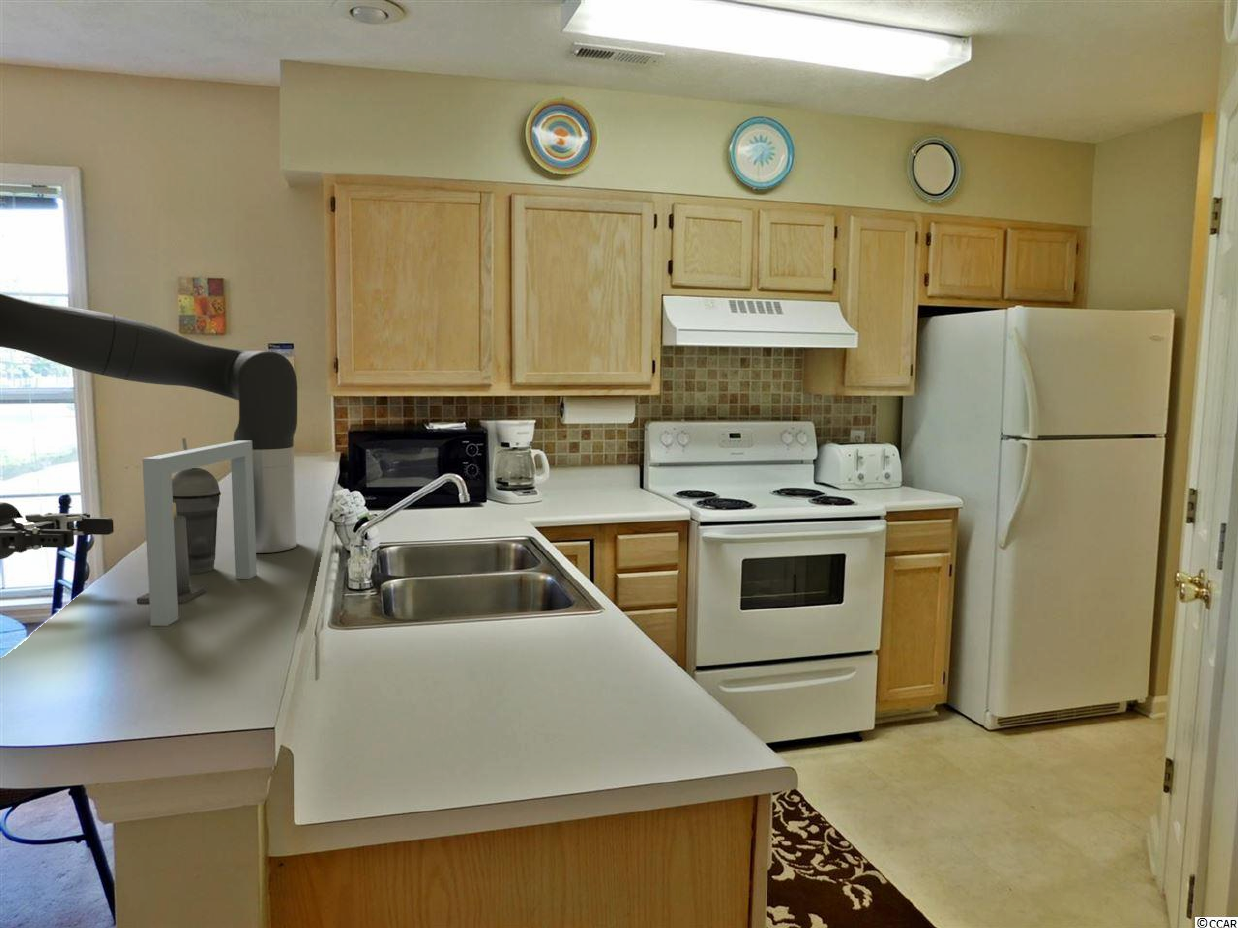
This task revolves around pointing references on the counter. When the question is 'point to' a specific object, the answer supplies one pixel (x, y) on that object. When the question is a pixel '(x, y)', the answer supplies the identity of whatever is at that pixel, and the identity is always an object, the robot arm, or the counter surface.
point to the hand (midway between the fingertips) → (93, 532)
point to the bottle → (181, 553)
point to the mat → (181, 598)
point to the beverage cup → (198, 514)
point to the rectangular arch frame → (162, 519)
